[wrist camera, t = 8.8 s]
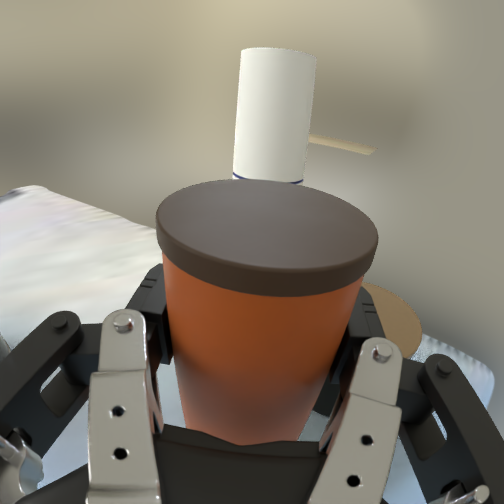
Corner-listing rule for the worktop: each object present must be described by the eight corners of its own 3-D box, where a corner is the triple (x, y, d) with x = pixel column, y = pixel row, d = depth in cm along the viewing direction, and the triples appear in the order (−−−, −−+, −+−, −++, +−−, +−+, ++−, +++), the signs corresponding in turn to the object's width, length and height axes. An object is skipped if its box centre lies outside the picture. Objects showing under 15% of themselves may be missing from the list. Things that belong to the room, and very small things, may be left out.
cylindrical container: (222, 292, 33) (235, 45, 21) (233, 259, 39) (246, 56, 27) (287, 300, 33) (320, 53, 21) (288, 266, 39) (313, 63, 27)
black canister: (267, 387, 22) (279, 325, 19) (316, 327, 29) (332, 267, 26) (369, 437, 18) (409, 384, 15) (399, 362, 25) (428, 305, 22)
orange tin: (159, 424, 11) (111, 210, 7) (232, 360, 15) (244, 170, 11) (258, 495, 9) (330, 313, 4) (321, 409, 13) (396, 214, 8)
